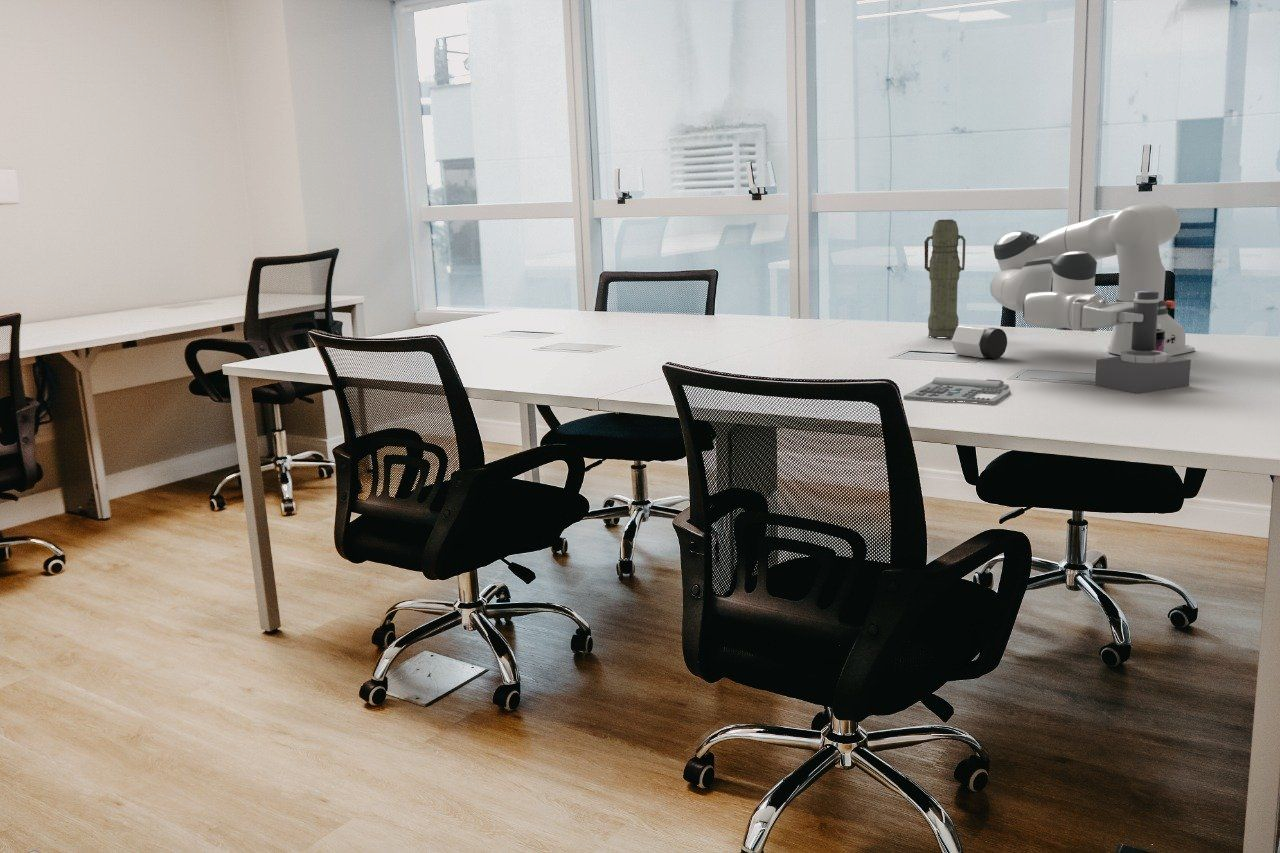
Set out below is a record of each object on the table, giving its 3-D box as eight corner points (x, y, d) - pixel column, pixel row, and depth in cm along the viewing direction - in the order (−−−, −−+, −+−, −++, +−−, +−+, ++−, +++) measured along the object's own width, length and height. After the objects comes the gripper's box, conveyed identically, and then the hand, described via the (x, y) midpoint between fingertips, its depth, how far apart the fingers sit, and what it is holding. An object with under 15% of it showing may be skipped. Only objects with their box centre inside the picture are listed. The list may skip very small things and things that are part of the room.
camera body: (1145, 377, 260) (1147, 346, 258) (1188, 385, 249) (1191, 352, 247) (1095, 385, 254) (1096, 353, 252) (1137, 393, 243) (1139, 360, 241)
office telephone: (935, 373, 265) (1020, 378, 255) (935, 384, 266) (1019, 389, 255) (903, 389, 246) (993, 395, 235) (903, 401, 247) (993, 407, 236)
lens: (1142, 347, 253) (1145, 289, 250) (1160, 349, 248) (1164, 291, 245) (1125, 349, 251) (1128, 291, 248) (1143, 351, 246) (1147, 293, 243)
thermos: (922, 334, 340) (925, 219, 332) (962, 334, 337) (965, 218, 329) (922, 338, 332) (924, 221, 324) (963, 338, 329) (966, 220, 321)
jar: (950, 356, 300) (985, 361, 290) (951, 326, 298) (986, 330, 288) (972, 352, 304) (1008, 357, 294) (973, 323, 302) (1009, 327, 293)
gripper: (1107, 320, 265) (1166, 324, 255) (1068, 330, 251) (1129, 335, 241) (1109, 294, 263) (1168, 297, 253) (1070, 303, 249) (1131, 306, 240)
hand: (1149, 316), depth 247 cm, fingers closed on lens, 5 cm apart
